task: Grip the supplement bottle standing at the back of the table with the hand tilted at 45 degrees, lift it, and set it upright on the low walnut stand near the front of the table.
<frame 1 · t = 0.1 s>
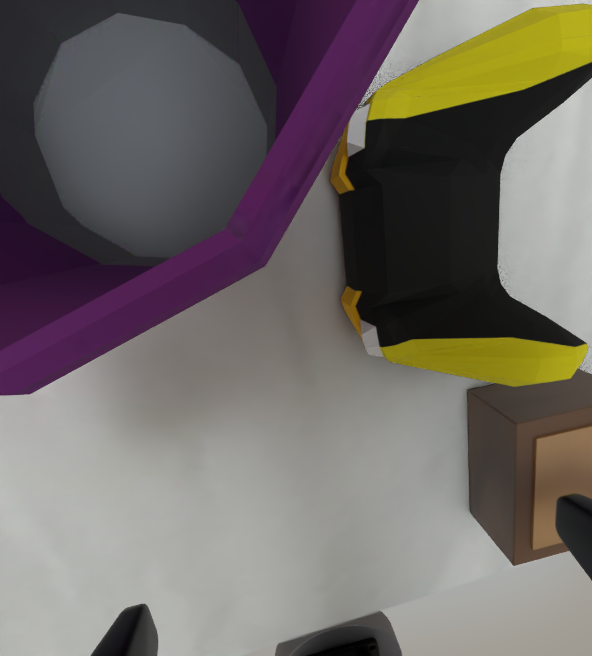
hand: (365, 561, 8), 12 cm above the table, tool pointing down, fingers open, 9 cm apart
walnut stand: (519, 442, 23), on the table
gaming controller: (424, 230, 19), on the table
mug: (101, 176, 16), on the table
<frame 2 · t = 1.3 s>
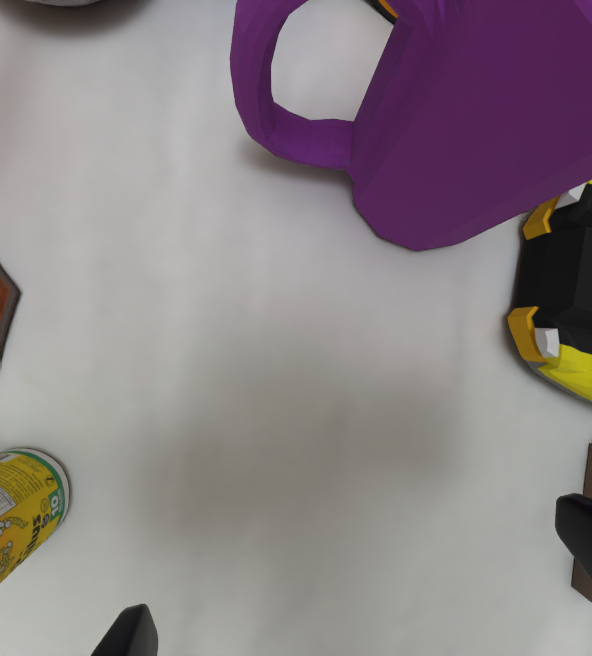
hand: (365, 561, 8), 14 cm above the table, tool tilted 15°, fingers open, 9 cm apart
supplement bottle: (24, 494, 20), on the table
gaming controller: (577, 291, 23), on the table
mug: (367, 175, 22), on the table
coffee pot: (47, 25, 21), on the table, touching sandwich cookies
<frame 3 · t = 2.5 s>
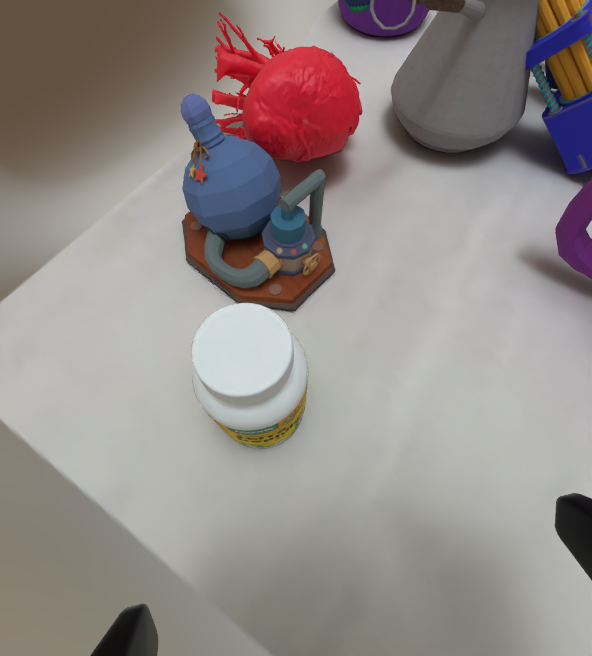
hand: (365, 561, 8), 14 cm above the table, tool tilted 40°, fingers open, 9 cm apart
supplement bottle: (262, 406, 23), on the table
mug 3: (362, 10, 44), on the table
model: (257, 247, 28), on the table
heart organ: (316, 102, 24), point 8 cm above the table
coffee pot: (416, 154, 33), on the table, touching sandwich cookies
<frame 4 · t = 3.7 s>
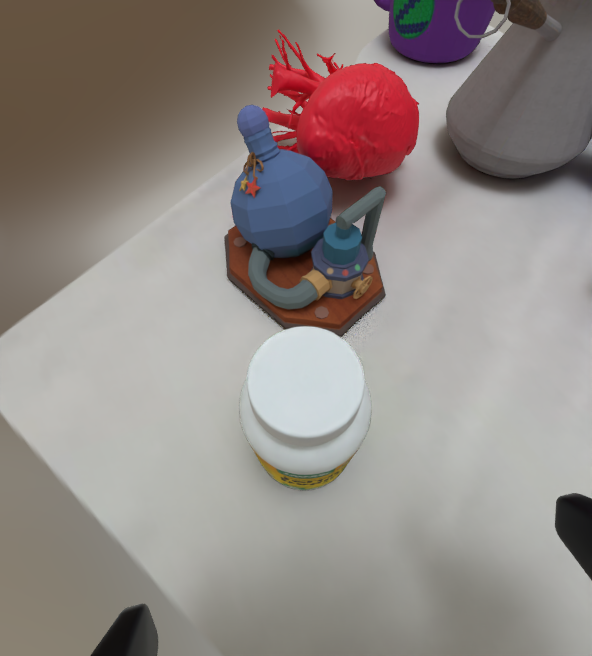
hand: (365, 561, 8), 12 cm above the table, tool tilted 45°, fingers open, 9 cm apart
supplement bottle: (303, 440, 21), on the table
mug 3: (411, 38, 44), on the table
model: (301, 266, 26), on the table
heart organ: (376, 118, 22), point 8 cm above the table
coffee pot: (470, 178, 31), on the table, touching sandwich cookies
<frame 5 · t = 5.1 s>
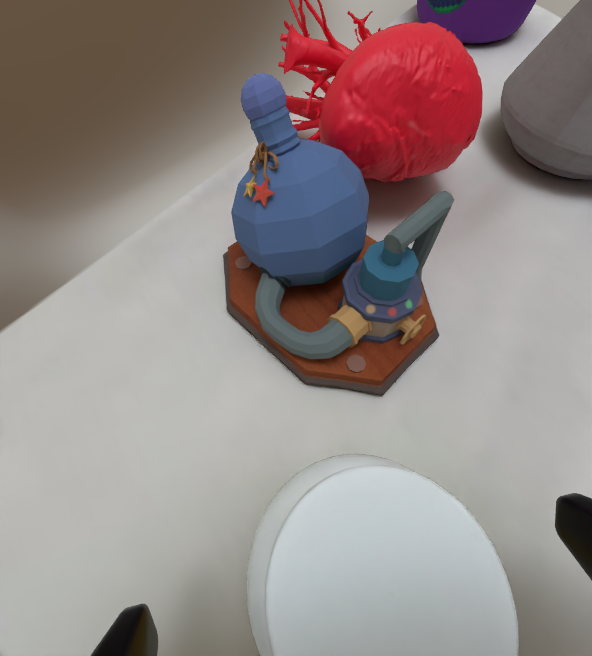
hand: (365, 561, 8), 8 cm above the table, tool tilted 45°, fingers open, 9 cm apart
supplement bottle: (336, 557, 14), on the table
mug 3: (441, 17, 38), on the table
model: (324, 295, 20), on the table
heart organ: (434, 95, 16), point 8 cm above the table
coffee pot: (531, 179, 25), on the table, touching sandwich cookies
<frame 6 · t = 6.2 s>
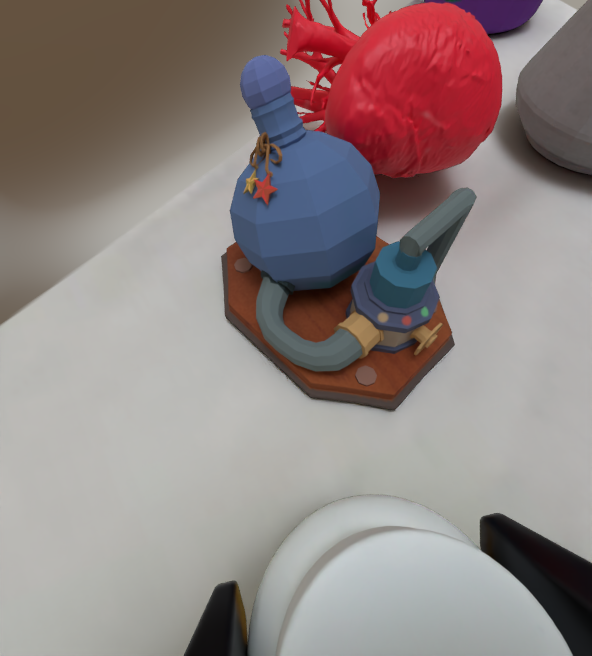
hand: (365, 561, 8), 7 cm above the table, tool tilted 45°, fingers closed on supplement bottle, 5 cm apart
supplement bottle: (345, 593, 13), on the table, touching gripper
mug 3: (449, 6, 36), on the table
model: (330, 299, 19), on the table
heart organ: (452, 82, 15), point 8 cm above the table
coffee pot: (548, 176, 23), on the table, touching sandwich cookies
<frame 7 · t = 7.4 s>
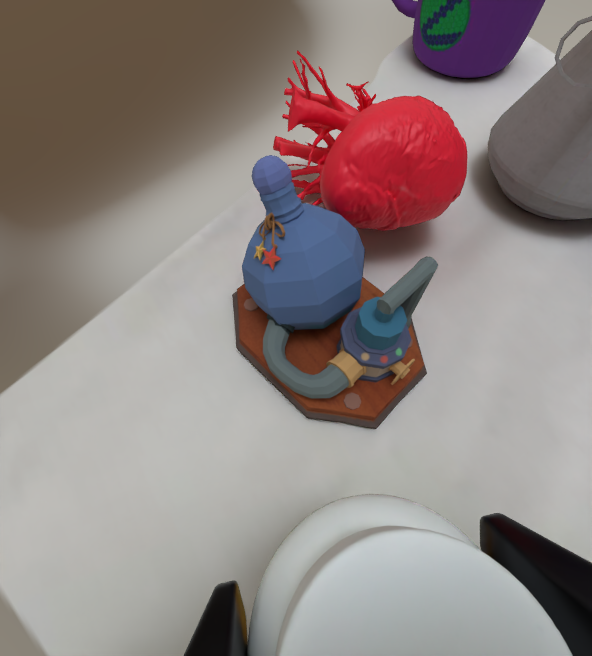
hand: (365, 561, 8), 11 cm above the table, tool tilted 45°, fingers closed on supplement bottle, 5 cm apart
supplement bottle: (345, 593, 13), point 4 cm above the table, touching gripper
mug 3: (436, 48, 40), on the table
model: (324, 333, 22), on the table
heart organ: (422, 167, 18), point 8 cm above the table
coffee pot: (515, 219, 27), on the table, touching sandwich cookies
when the fingers open (11 cm above the table, at t = 13.8 s): supplement bottle stays where it is, resting on walnut stand.
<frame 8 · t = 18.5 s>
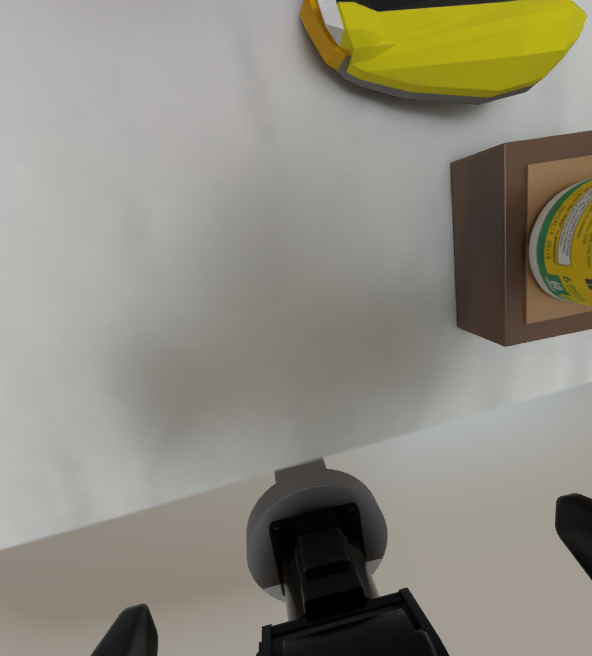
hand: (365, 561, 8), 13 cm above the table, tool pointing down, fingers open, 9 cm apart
supplement bottle: (573, 242, 16), point 4 cm above the table, touching walnut stand
walnut stand: (512, 239, 20), on the table
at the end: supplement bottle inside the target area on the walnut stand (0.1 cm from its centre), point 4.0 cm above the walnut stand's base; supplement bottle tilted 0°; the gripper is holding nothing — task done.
